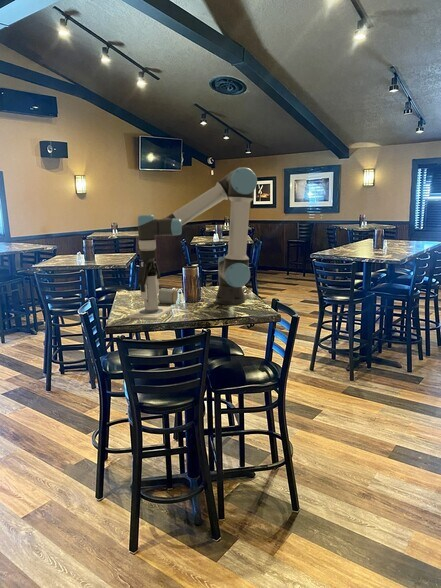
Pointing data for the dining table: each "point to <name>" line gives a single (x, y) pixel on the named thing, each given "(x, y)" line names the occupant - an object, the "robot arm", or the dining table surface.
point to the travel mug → (151, 292)
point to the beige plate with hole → (150, 313)
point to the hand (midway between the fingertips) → (150, 295)
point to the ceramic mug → (167, 296)
